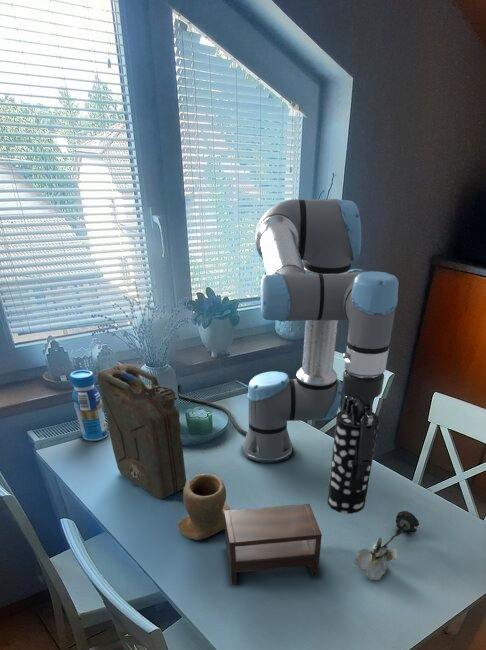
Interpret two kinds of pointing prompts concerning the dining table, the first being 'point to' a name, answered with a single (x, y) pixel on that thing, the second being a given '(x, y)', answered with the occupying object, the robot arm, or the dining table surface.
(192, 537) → the stone cup
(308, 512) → the rack
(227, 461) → the dining table surface
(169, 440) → the container
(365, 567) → the artificial flower
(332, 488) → the spotted tube
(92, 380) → the beverage bottle
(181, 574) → the dining table surface
